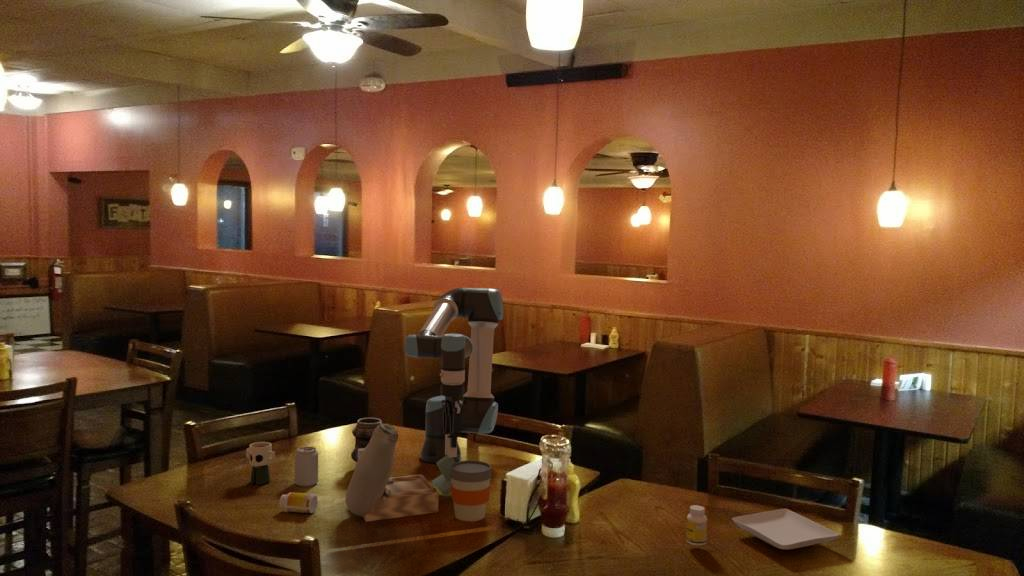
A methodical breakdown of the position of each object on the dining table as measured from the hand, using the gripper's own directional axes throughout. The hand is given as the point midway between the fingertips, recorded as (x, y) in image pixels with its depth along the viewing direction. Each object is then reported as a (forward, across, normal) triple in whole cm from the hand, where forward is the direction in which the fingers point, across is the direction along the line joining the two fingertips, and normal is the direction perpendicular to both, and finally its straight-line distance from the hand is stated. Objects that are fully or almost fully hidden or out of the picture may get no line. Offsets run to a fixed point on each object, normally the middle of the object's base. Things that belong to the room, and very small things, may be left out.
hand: (450, 455), depth 237 cm
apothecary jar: (+13, -35, -18) cm, 42 cm away
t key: (+7, +4, -26) cm, 27 cm away
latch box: (+13, +4, -19) cm, 23 cm away
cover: (+8, 0, +2) cm, 8 cm away
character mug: (+14, -33, -55) cm, 66 cm away
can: (+14, -27, -41) cm, 51 cm away
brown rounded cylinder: (+12, +7, -31) cm, 34 cm away
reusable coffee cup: (+14, +18, 0) cm, 22 cm away
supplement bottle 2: (+14, +58, +52) cm, 79 cm away
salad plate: (+14, +63, +79) cm, 102 cm away
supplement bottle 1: (+11, 0, -42) cm, 44 cm away
